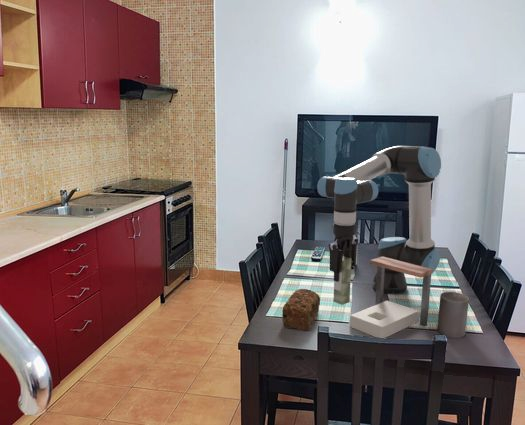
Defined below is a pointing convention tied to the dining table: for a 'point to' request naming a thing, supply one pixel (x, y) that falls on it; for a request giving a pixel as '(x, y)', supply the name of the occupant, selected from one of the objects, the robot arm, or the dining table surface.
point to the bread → (301, 309)
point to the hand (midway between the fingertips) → (342, 287)
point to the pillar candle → (452, 314)
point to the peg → (344, 283)
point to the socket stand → (388, 313)
